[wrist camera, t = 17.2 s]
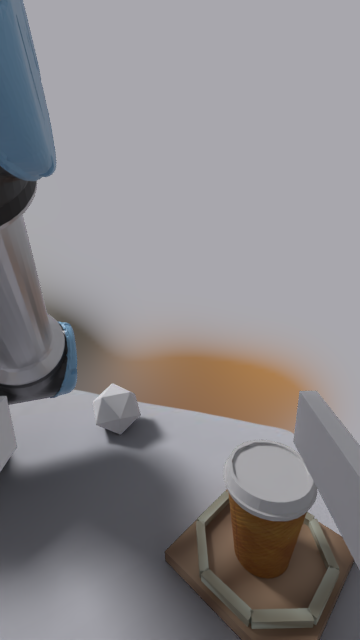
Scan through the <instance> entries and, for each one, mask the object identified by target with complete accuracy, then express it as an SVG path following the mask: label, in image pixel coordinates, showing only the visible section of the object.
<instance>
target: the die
mask: <svg viewBox="0 0 360 640" xmlns="http://www.w3.org/2000/svg"><path fill="white" fill-rule="evenodd" d="M92 403H93V409H94V415H95V422H96V425H98V426H100V427H103V428H105V429H108V430H110V431H112V432H115V433H117V434H120V435H121V434H122V433H123V432H124V431H125V430H126V429H127V428H128V427H129V426H130V425H131V424H132V423H133V422H134V421H135V420H136V419H137V418H138V417H139V416H140V415H141V414H140V411H139V407H138V403H137V400H136V396H135V394H134V393H132V392H130V391H128V390H125V389H124V388H121V387H119V386H117V385H115V384H113V383H112V384H111V385H110V386H109V387H108V388H107V389H106V390H105V391H104V392H103V393H102V394H100V395H99V396H98V397H97V398H96V399H95V400H94V401H93V402H92Z"/></svg>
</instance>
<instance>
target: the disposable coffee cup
mask: <svg viewBox="0 0 360 640" xmlns="http://www.w3.org/2000/svg"><path fill="white" fill-rule="evenodd" d="M223 478H224V482H225V485H226V488H227V489H228V492H229V493H228V494H229V501H230V502H229V503H230V512H231V522H232V530H233V540H234V550H235V554H236V556H237V559H238V560H239V562H240V563H241V565H242V566H243V567H244V568H245V569H246V570H247V571H248V572H250V573H251V574H253V575H255V576H258V577H260V578H267V579H269V578H275V577H278V576H280V575H281V574H283V573H284V572H285V571H286V569H287V568H288V565H289V562H290V559H291V556H292V554H293V551H294V548H295V545H296V542H297V539H298V536H299V533H300V531H301V527H302V525H303V522H304V519H305V516H306V513H307V511H308V510H309V509H310V508H311V506H312V505H313V504H314V502H315V500H316V496H317V487H316V485H315V483H314V481H313V479H312V477H311V475H310V473H309V471H308V469H307V467H306V465H305V463H304V461H303V459H302V457H301V455H300V454H299V453H298V452H296V451H295V450H293V449H292V448H290V447H288V446H286V445H283V444H281V443H278V442H274V441H269V440H253V441H248V442H245V443H242V444H240V445H238V446H237V447H236V448H235V449H234V450H233V451H232V452H231V454H230V456H229V458H228V459H227V461H226V462H225V465H224V469H223Z"/></svg>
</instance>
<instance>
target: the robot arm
mask: <svg viewBox="0 0 360 640" xmlns="http://www.w3.org/2000/svg"><path fill="white" fill-rule="evenodd" d="M55 168H56V154H55V147H54V141H53V135H52V129H51V123H50V118H49V113H48V109H47V106H46V100H45V96H44V91H43V87H42V83H41V77H40V71H39V67H38V62H37V57H36V53H35V49H34V45H33V40H32V36H31V32H30V28H29V24H28V19H27V15H26V12H25V8H24V4H23V0H0V471H1V470H2V469H3V467H4V466H5V464H6V463H7V461H8V460H9V458H10V457H11V455H12V454H13V452H14V451H15V449H16V448H17V443H16V439H15V434H14V429H13V424H12V420H11V415H10V410H9V405H10V404H16V403H21V402H27V401H32V400H38V399H43V398H49V397H50V398H55V397H57V396H59V395H63V394H67V393H69V392H71V391H72V390H73V389H74V388H75V385H76V381H77V369H76V367H77V353H76V343H75V337H74V332H73V329H72V327H71V325H70V324H69V323H62V322H57V321H56V320H55V319H54V318H53V317H52V316H50V315H49V314H47V311H46V307H45V303H44V299H43V295H42V291H41V287H40V283H39V279H38V275H37V271H36V267H35V263H34V259H33V255H32V251H31V247H30V243H29V239H28V234H27V231H26V226H25V223H24V218H23V213H24V212H25V211H26V210H27V208H28V207H29V206H30V204H31V202H32V200H33V198H34V196H35V193H36V188H37V180H38V179H40V178H42V177H47V176H50V175H52V173H53V172H54V171H55ZM293 442H294V444H295V446H296V448H297V450H298V452H299V454H300V455H301V457H302V459H303V461H304V463H305V465H306V467H307V469H308V471H309V473H310V475H311V477H312V479H313V481H314V483H315V485H316V487H317V489H318V491H319V493H320V494H321V496H322V498H323V500H324V502H325V504H326V506H327V508H328V510H329V512H330V514H331V516H332V518H333V520H334V522H335V524H336V526H337V528H338V530H339V531H340V533H341V535H342V537H343V539H344V541H345V543H346V545H347V547H348V549H349V551H350V553H351V555H352V557H353V559H354V561H355V563H356V565H357V567H358V569H359V570H360V445H359V444H358V443H357V441H356V440H355V439H354V438H353V436H352V435H351V434H350V433H349V431H348V430H347V429H346V427H345V426H344V425H343V424H342V422H341V421H340V420H339V419H338V417H337V416H336V415H335V413H334V412H333V411H332V410H331V408H330V407H329V406H328V405H327V403H326V402H325V401H324V400H323V398H322V397H321V396H320V394H319V393H318V392H317V391H300V393H299V401H298V409H297V417H296V425H295V433H294V441H293Z"/></svg>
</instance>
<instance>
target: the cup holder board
mask: <svg viewBox="0 0 360 640" xmlns="http://www.w3.org/2000/svg"><path fill="white" fill-rule="evenodd" d="M228 493H229V492H228V489H227V490H226V491H225V492H224V493H223V494H222V495H221V496H220V497H219V498H218V499H217V500H216V501H215V502H214V503H213V504H212V505H211V506H210V507H209V508H208V509H207V510H206V511H205V512H203V513H202V514H201V515H200V516H199V517H198V518H197V520H196V521H195V522H194V523H193V524H192V525H191V526H190V527H189V528H188V529H187V530H186V531H185V532H184V533H183V534H182V535H181V536H180V537H179V538H178V539H177V540H176V541H175V542H174V543H173V544H172V545H171V546H170V547H169V548H168V549H167V550H166V551H165V560H166V562H167V563H168V564H169V565H170V566H171V567H172V568H173V569H174V570H175V571H176V572H177V573H178V574H179V575H180V576H181V577H182V578H183V579H184V580H185V581H186V582H187V583H188V584H189V585H190V586H191V588H192V589H193V590H194V591H195V592H196V593H197V594H198V595H199V596H200V597H201V598H202V599H203V600H204V601H205V602H206V603H207V604H208V605H209V606H210V607H211V608H212V609H213V610H214V611H215V612H216V613H217V615H218V616H219V617H220V618H221V619H222V620H223V621H224V622H225V623H226V624H227V625H228V626H229V627H230V628H231V629H232V630H233V631H234V632H235V633H236V634H237V635H238V636H239V637H240V638H241V639H242V640H320V637H321V635H322V633H323V631H324V628H325V626H326V624H327V621H328V619H329V617H330V615H331V612H332V610H333V608H334V606H335V603H336V601H337V599H338V597H339V594H340V592H341V590H342V588H343V585H344V583H345V581H346V579H347V576H348V574H349V572H350V569H351V567H352V565H353V563H354V559H353V557H352V555H351V553H350V551H349V549H348V547H347V545H346V543H345V541H344V539H343V537H342V536H340V535H339V534H337V533H335V532H334V531H332V530H331V529H329V528H328V527H326V526H324V525H323V524H321V523H320V522H318V520H317V519H314V516H313V515H312V514H310V513H308V512H307V513H306V516H305V519H304V522H303V525H302V527H301V531H300V533H299V536H298V539H297V542H296V545H295V548H294V551H293V554H292V556H291V559H290V562H289V565H288V568H287V569H286V571H285V572H284V573H283V574H281V575H280V576H278V577H275V578H269V579H267V578H260V577H258V576H255V575H253V574H251V573H250V572H248V571H247V570H246V569H245V568H244V567H243V566H242V565H241V563H240V562H239V560H238V559H237V556H236V554H235V550H234V540H233V530H232V522H231V512H230V503H229V502H230V501H229V494H228Z"/></svg>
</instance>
